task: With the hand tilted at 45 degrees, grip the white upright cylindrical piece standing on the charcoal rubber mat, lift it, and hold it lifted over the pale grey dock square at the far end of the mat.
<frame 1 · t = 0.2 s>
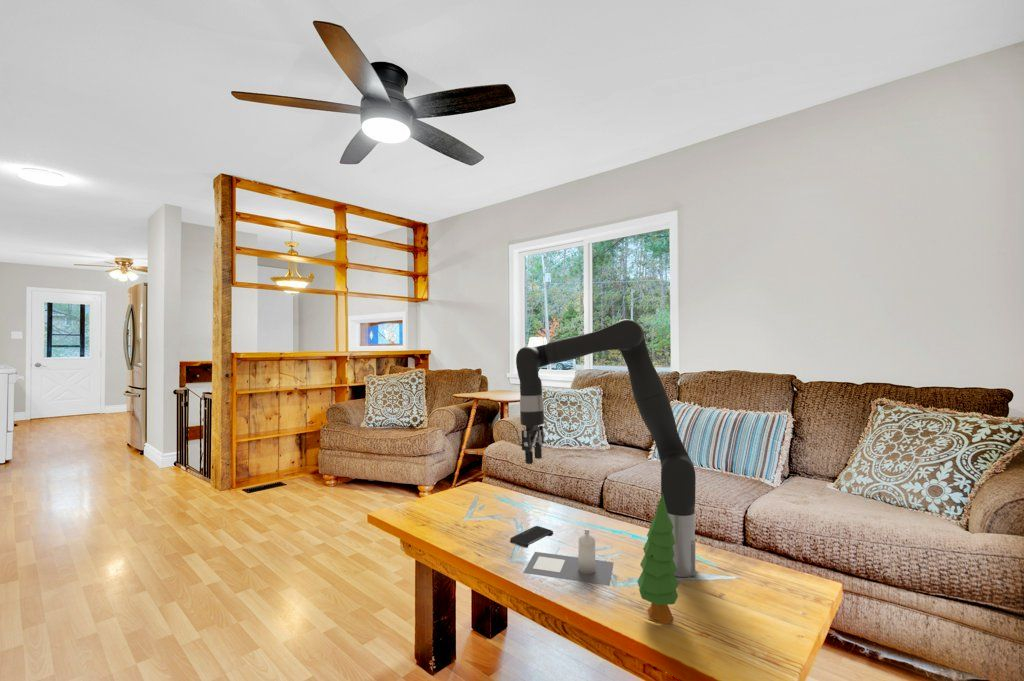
hand: (534, 460, 150), 28 cm above the table, tool pointing down, fingers open, 8 cm apart
phone: (532, 538, 159), on the table
decorative tree: (656, 616, 113), on the table
mat: (569, 569, 137), on the table
white upright cylindrical piece: (586, 569, 135), point 1 cm above the table, touching mat
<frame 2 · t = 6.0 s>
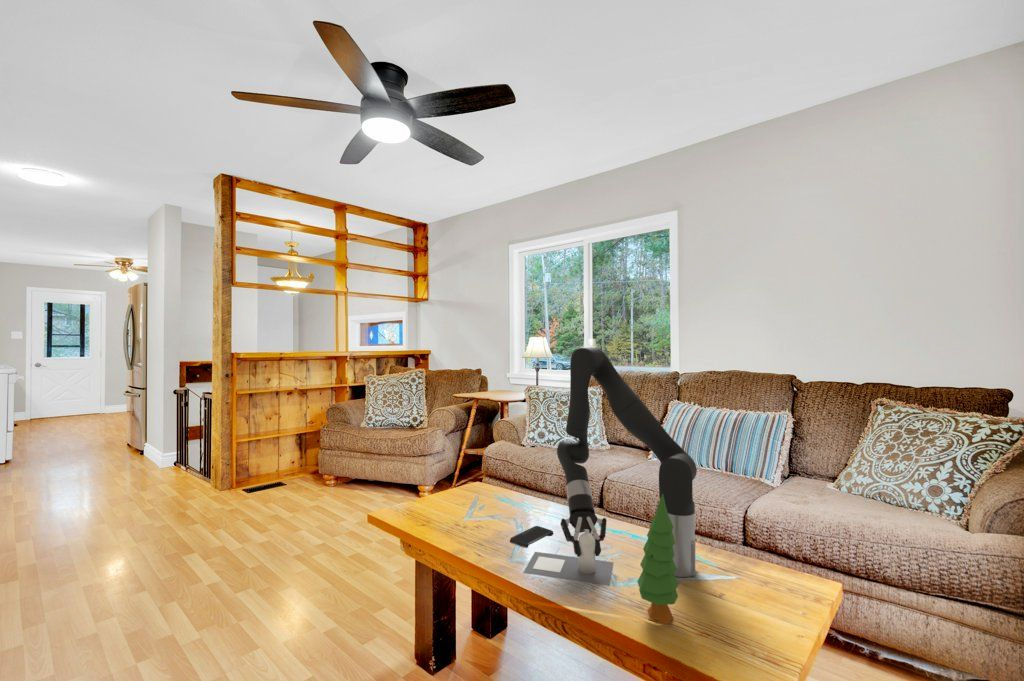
hand: (588, 555, 133), 6 cm above the table, tool tilted 45°, fingers closed on white upright cylindrical piece, 4 cm apart
white upright cylindrical piece: (586, 569, 135), point 1 cm above the table, touching gripper, mat
everything else where it was.
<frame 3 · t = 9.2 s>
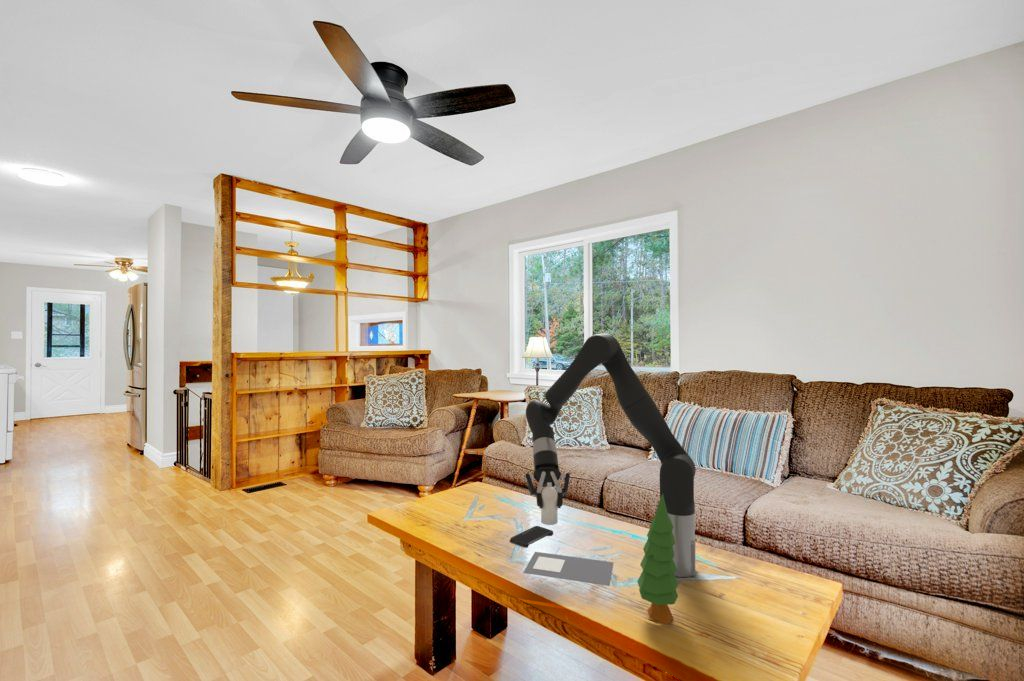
hand: (550, 506, 137), 18 cm above the table, tool tilted 45°, fingers closed on white upright cylindrical piece, 4 cm apart
white upright cylindrical piece: (549, 521, 138), point 13 cm above the table, touching gripper
everything else where it was.
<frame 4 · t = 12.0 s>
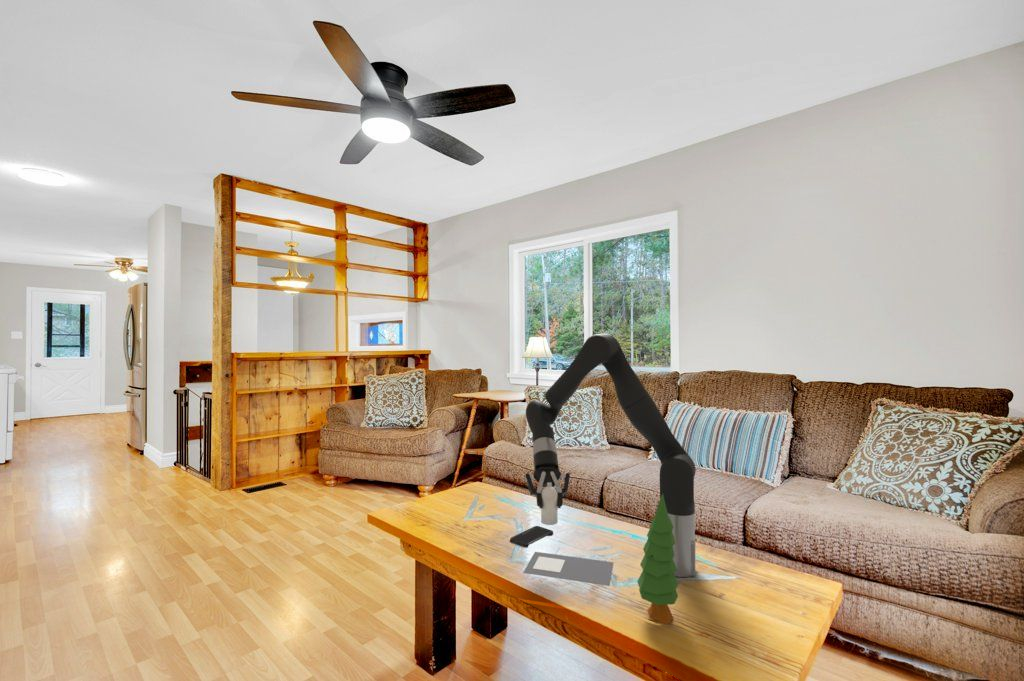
hand: (550, 506, 137), 18 cm above the table, tool tilted 45°, fingers closed on white upright cylindrical piece, 4 cm apart
white upright cylindrical piece: (549, 521, 138), point 13 cm above the table, touching gripper
everything else where it was.
at the end: the gripper is holding white upright cylindrical piece; white upright cylindrical piece inside the target area (0.1 cm from its centre), point 13.0 cm above the table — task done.
